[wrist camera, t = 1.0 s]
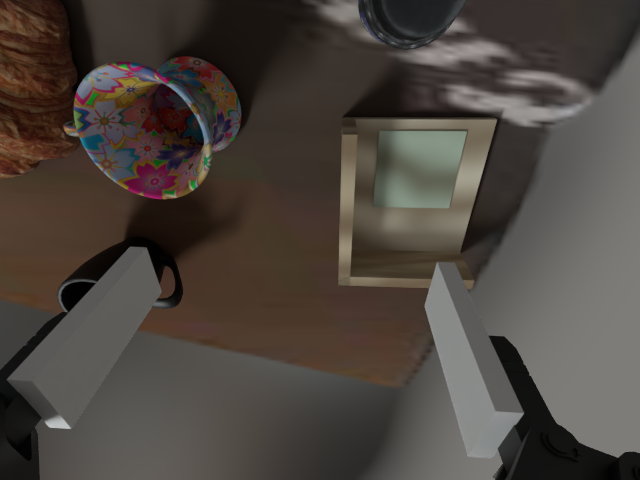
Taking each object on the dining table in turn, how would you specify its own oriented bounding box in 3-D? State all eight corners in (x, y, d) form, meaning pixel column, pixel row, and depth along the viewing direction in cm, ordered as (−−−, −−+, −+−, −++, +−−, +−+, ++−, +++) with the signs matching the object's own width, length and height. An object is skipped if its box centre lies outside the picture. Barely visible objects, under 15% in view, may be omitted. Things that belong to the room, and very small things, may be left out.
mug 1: (241, 50, 28) (195, 62, 19) (253, 154, 33) (221, 201, 25) (108, 49, 29) (4, 61, 20) (139, 152, 34) (69, 197, 25)
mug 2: (210, 281, 44) (181, 338, 36) (123, 277, 44) (76, 333, 36) (198, 229, 39) (161, 281, 31) (101, 226, 40) (41, 276, 32)
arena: (342, 117, 31) (342, 134, 26) (493, 117, 30) (522, 135, 25) (338, 253, 40) (338, 285, 35) (455, 256, 39) (471, 289, 34)
